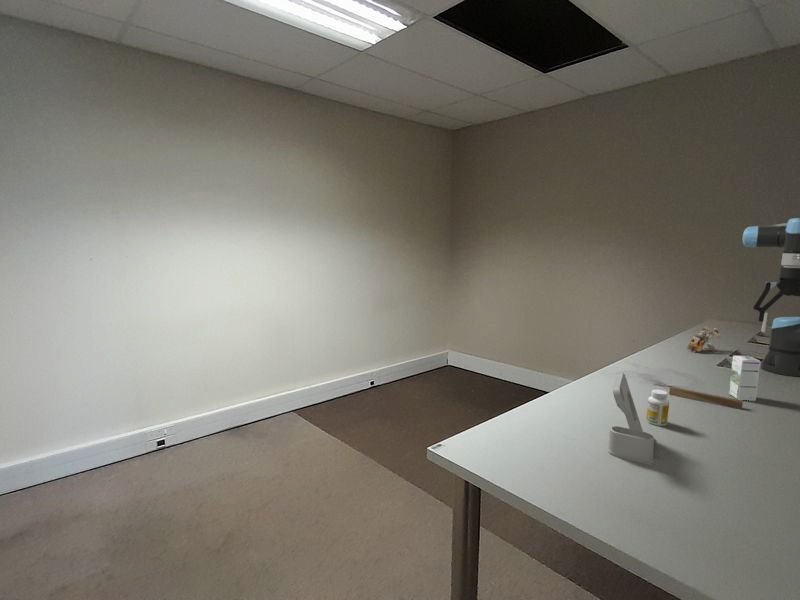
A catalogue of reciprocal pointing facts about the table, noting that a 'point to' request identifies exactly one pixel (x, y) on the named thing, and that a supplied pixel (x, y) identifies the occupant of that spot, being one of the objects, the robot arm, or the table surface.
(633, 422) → the phone holder
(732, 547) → the table surface
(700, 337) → the voxel character
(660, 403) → the supplement bottle
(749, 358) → the syrup box
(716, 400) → the walnut stop rail
